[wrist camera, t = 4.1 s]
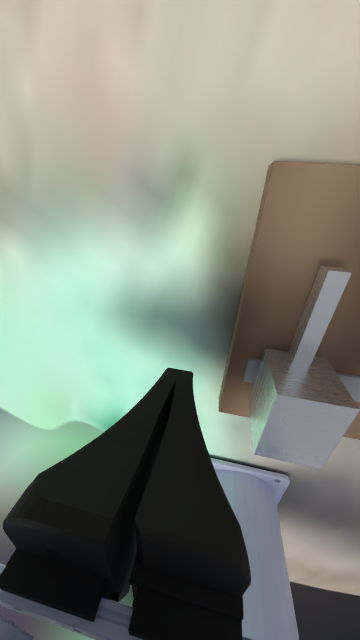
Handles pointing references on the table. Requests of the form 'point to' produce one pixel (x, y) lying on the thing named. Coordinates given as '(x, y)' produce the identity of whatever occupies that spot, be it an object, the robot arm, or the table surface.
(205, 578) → the robot arm
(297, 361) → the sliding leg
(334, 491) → the table surface
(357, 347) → the gauge board
